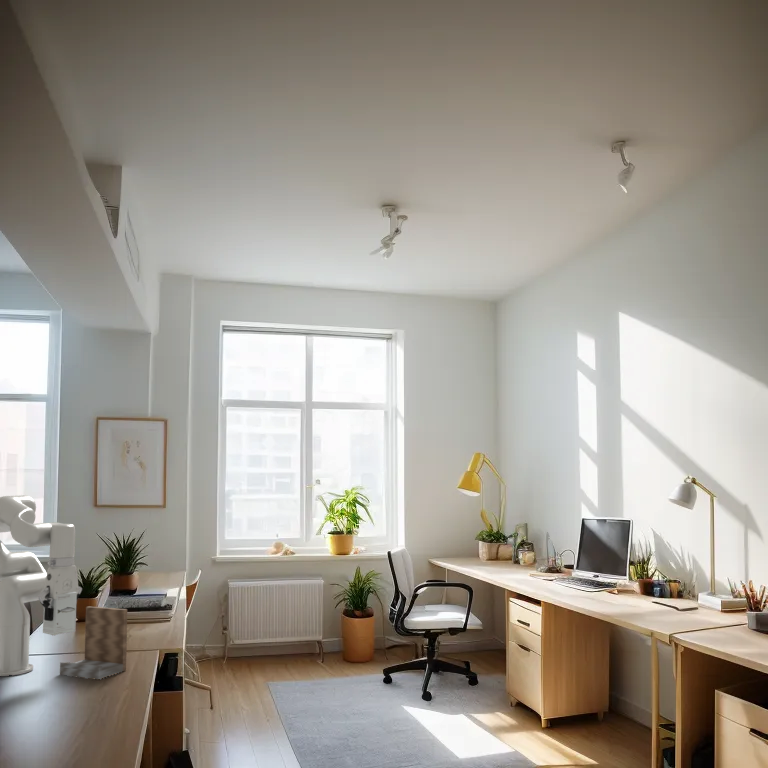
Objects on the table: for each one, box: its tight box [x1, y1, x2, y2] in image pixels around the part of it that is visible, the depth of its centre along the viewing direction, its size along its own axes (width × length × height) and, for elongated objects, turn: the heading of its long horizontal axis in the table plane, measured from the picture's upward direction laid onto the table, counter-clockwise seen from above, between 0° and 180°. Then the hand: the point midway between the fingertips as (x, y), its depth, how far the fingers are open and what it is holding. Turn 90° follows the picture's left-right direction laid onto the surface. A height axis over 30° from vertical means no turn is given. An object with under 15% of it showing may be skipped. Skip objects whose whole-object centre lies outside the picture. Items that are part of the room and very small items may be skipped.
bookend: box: [59, 605, 128, 680], centre depth 253 cm, size 17×12×20 cm
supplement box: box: [42, 592, 78, 636], centre depth 245 cm, size 7×7×13 cm
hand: (59, 617), depth 245 cm, fingers closed on supplement box, 8 cm apart
